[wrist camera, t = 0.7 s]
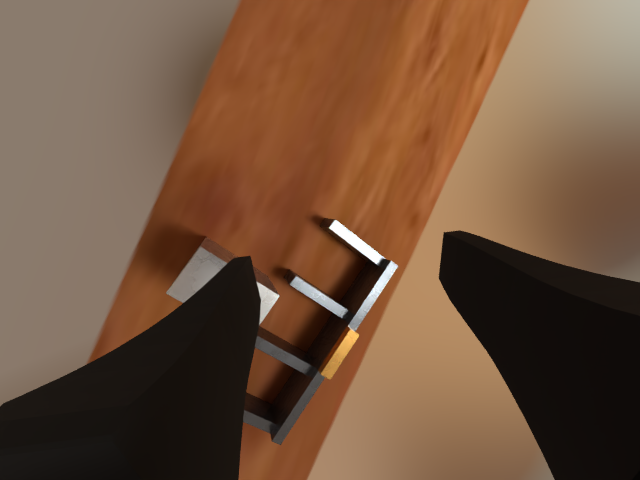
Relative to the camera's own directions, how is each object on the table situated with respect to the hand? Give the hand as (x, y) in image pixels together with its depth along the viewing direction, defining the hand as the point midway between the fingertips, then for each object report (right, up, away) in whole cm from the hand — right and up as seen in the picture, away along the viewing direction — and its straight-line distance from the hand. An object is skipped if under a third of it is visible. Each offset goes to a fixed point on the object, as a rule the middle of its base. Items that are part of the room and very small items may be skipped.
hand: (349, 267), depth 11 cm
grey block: (-10, -2, +17) cm, 20 cm away
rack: (-3, -7, +20) cm, 22 cm away
